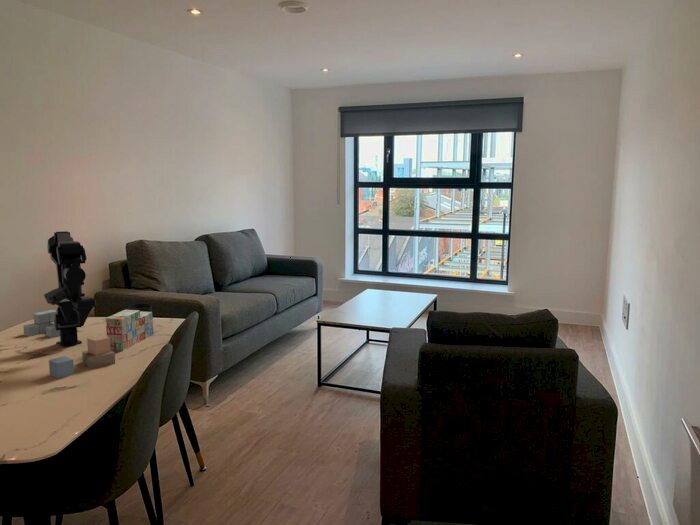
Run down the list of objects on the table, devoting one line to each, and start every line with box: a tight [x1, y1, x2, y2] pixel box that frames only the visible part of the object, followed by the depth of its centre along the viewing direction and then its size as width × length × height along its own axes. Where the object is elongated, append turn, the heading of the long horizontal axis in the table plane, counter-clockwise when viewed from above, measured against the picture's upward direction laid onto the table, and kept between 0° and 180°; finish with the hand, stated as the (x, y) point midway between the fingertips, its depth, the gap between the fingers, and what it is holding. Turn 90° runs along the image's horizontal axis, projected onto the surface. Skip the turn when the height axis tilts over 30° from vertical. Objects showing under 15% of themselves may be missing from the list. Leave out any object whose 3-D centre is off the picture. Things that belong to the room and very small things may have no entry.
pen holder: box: [126, 302, 152, 312], centre depth 212 cm, size 9×9×10 cm
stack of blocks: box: [105, 309, 154, 352], centre depth 197 cm, size 21×6×12 cm, turn 171°
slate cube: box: [48, 355, 75, 379], centre depth 164 cm, size 5×5×5 cm
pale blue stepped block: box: [23, 309, 60, 339], centre depth 204 cm, size 12×12×8 cm
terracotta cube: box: [86, 334, 110, 355], centre depth 174 cm, size 5×5×5 cm
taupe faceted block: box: [81, 350, 116, 369], centre depth 175 cm, size 8×8×4 cm
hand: (74, 323), depth 178 cm, fingers open, 9 cm apart
